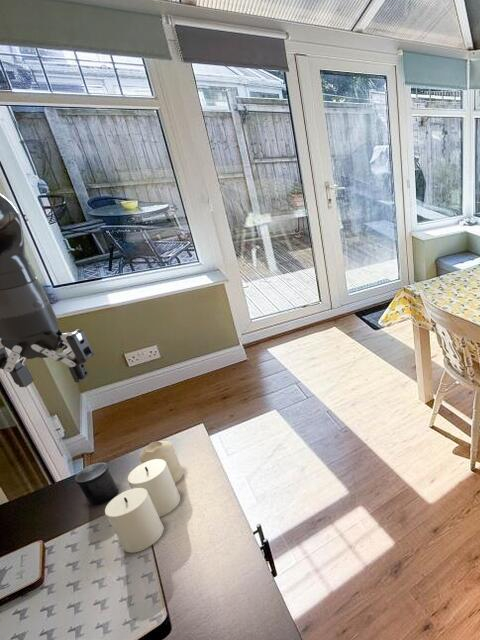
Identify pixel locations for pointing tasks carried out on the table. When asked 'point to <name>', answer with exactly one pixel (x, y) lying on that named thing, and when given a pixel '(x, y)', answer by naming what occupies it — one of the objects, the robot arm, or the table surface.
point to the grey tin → (97, 483)
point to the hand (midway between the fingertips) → (54, 382)
